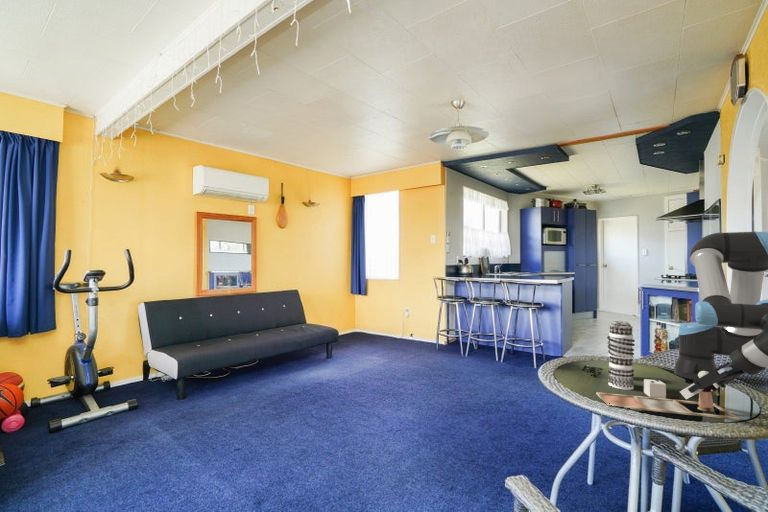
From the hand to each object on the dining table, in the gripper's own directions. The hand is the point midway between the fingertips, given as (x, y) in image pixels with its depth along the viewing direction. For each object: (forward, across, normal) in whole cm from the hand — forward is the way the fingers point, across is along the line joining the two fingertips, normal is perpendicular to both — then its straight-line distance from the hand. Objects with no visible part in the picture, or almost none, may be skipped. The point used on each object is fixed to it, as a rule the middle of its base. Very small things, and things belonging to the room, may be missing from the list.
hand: (691, 393), depth 124 cm
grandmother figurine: (+1, 0, -6) cm, 6 cm away
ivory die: (+11, -1, +5) cm, 12 cm away
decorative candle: (+19, -3, +13) cm, 23 cm away
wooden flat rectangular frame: (+6, -9, 0) cm, 11 cm away
